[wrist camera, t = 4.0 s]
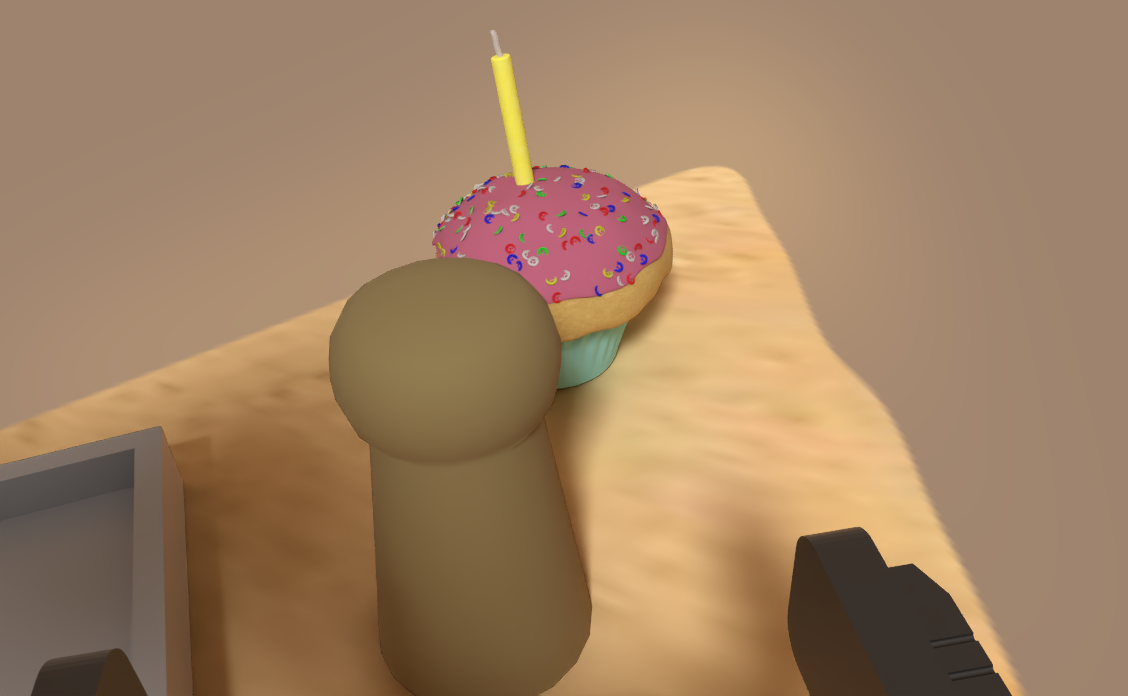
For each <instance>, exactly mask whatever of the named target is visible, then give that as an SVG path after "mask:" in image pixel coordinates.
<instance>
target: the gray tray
mask: <svg viewBox="0 0 1128 696" xmlns="http://www.w3.org/2000/svg"><path fill="white" fill-rule="evenodd" d="M114 648H119V649H121V650H122V651H123V652H124V653H125V654H126V656H127V657H128V659H129V661H130V663H131V665H132V667H133V668H134V670H135V672H136V674H137V676H138V678H139V680H140V682H141V683H142V685H143V687H144V689H145V691H146V693H147V695H148V696H193V683H192V661H191V639H190V617H189V595H188V574H187V552H186V530H185V508H184V486H183V480H182V477H181V475H180V472H179V470H178V467H177V465H176V462H175V460H174V457H173V455H172V452H171V450H170V447H169V444H168V442H167V439H166V437H165V434H164V432H163V429H162V427H161V426H158V427H154V428H150V429H146V430H141V431H137V432H133V433H129V434H125V435H121V436H117V437H113V438H109V439H105V440H100V441H96V442H92V443H88V444H84V445H80V446H76V447H72V448H68V449H64V450H60V451H55V452H51V453H47V454H43V455H39V456H35V457H31V458H27V459H23V460H19V461H14V462H10V463H6V464H2V465H0V696H31V693H32V690H33V687H34V684H35V681H36V678H37V675H38V673H39V671H40V669H41V667H42V666H43V665H44V663H45V662H47V661H48V660H50V659H54V658H60V657H66V656H72V655H78V654H84V653H90V652H96V651H102V650H108V649H114Z"/></svg>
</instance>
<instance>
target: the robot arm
mask: <svg viewBox="0 0 1128 696" xmlns="http://www.w3.org/2000/svg"><path fill="white" fill-rule="evenodd" d="M788 630H789V636H790V641H791V646H792V650H793V653H794V657H795V660H796V662H797V665H798V668H799V670H800V672H801V675H802V677H803V679H804V682H805V684H806V687H807V689H808V691H809V694H810V696H1012V695H1011V693H1010V692H1009V690H1008V688H1007V687H1006V685H1005V684H1004V682H1003V680H1002V679H1001V677H1000V675H999V674H998V673H995V672H994V670H993V664H992V662H991V661H990V659H989V658H988V656H987V654H986V653H985V651H984V649H983V648H982V646H981V645H980V643H979V641H975V639H974V636H973V631H972V630H971V628H970V627H969V625H968V623H967V622H966V620H965V618H964V617H963V615H962V614H961V612H960V610H959V609H958V607H957V605H956V604H955V602H954V601H953V599H952V597H951V596H950V594H949V593H947V592H946V591H945V590H944V589H943V588H941V587H940V586H939V585H938V584H937V583H935V582H934V581H933V580H932V579H931V578H929V577H928V576H927V575H926V574H925V573H923V572H922V571H921V570H920V569H919V568H917V567H916V566H915V565H914V564H907V565H901V566H895V567H890V568H888V567H887V565H886V563H885V561H884V560H883V558H882V556H881V554H880V553H879V551H878V549H877V547H876V545H875V544H874V542H873V540H872V539H871V537H870V535H869V534H868V533H867V532H866V531H865V530H864V529H863V528H861V527H854V528H848V529H842V530H836V531H830V532H824V533H818V534H812V535H806V536H801V537H800V538H799V539H798V542H797V545H796V552H795V560H794V568H793V576H792V584H791V591H790V599H789V607H788ZM31 696H148V695H147V693H146V691H145V689H144V687H143V685H142V683H141V682H140V680H139V678H138V676H137V674H136V672H135V670H134V668H133V667H132V665H131V663H130V661H129V659H128V657H127V656H126V654H125V653H124V652H123V651H122V650H121V649H119V648H114V649H108V650H102V651H96V652H90V653H84V654H78V655H72V656H66V657H60V658H54V659H50V660H48V661H47V662H45V663H44V665H43V666H42V667H41V669H40V671H39V673H38V675H37V678H36V681H35V684H34V687H33V690H32V693H31Z"/></svg>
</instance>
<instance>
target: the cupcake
mask: <svg viewBox="0 0 1128 696" xmlns="http://www.w3.org/2000/svg"><path fill="white" fill-rule="evenodd" d="M490 34H491V36H492V40H493V44H494V49H495V51H496V54H497V55H495V56H493V57H492V58H491V62H492V67H493V72H494V77H495V82H496V87H497V92H498V97H499V102H500V107H501V112H502V117H503V122H504V127H505V131H506V137H507V142H508V147H509V152H510V157H511V162H512V167H513V172H514V173H507V174H503V175H497V176H496V177H495V176H494V177H491V178H490V179H489V180H488V181H486V182H485V183H482V184H476V185H475V186H474V190H473V191H472V193H470V194H468V195H466V196H465V197H464V198H463V197H461V198H460V200H459V201H458V202H456V203H455V204H456V205H457V206H454V207H452V208H451V209H450V210H449V211H448V213H447V214H444V215H443V216H442V218H441V221H442V223H441V224H440V223H439V224H438V229H439V230H438V232H437V231H435V230H434V231H433V237H434V239H433V241H432V244H433V245H436V249H437V252H436V258H472V259H477V260H482V261H487V262H493V263H498V264H500V265H502V266H504V267H507V268H509V269H511V270H513V271H516V272H518V273H520V274H521V275H522V276H523V277H524V278H525V279H526V280H527V281H528V282H529V283H530V284H531V285H533V286H534V287H535V289H536V290H537V291H538V292H539V293H540V294H541V295H542V296H543V298H544V299H545V300H546V301H547V303H548V306H549V309H550V311H551V314H552V316H553V319H554V322H555V324H556V327H557V330H558V333H559V335H560V338H561V353H562V362H561V368H560V375H559V381H558V386H557V389H559V388H567V387H572V386H576V385H580V384H583V383H585V382H588V381H590V380H592V379H594V378H596V377H597V376H599V375H600V374H602V373H603V372H604V371H605V370H606V369H607V368H608V367H609V366H610V365H611V363H612V362H613V360H614V358H615V356H616V353H617V350H618V347H619V344H620V341H621V338H622V335H623V332H624V330H625V327H626V325H627V322H628V321H629V320H631V319H632V318H634V317H635V316H637V315H638V314H639V313H640V312H641V311H642V309H643V308H644V307H645V306H646V305H647V303H648V302H649V301H650V300H651V299H652V298H653V297H654V296H655V295H656V293H657V291H658V289H659V287H660V285H661V283H662V280H663V279H664V278H665V277H666V276H667V275H668V274H669V273H670V271H671V268H672V259H673V248H672V238H671V233H670V229H669V227H668V224H667V221H666V219H665V218H664V217H663V216H662V214H661V213H660V211H659V210H658V207H657V206H656V204H653V207H654V208H653V207H652V206H651V205H652V204H651V203H650V202H648V201H647V199H646V198H643V197H641V196H640V195H639V192H638V189H637V188H636V189H635V191H636V192H635V191H633V190H632V189H630V188H629V187H627V186H626V185H624V184H622V183H621V182H619V181H617V180H616V179H614V178H613V177H611V176H610V175H609V174H605V175H603V174H599V173H596V171H595V170H588V169H587V168H584V169H575V168H572V167H569V166H566V165H561V166H560V167H559V168H558V167H554V168H547V166H541V167H539V166H535V167H533V168H532V166H531V161H530V156H529V151H528V145H527V141H526V135H525V130H524V124H523V119H522V114H521V109H520V103H519V98H518V93H517V87H516V82H515V77H514V72H513V67H512V61H511V57H510V54H503V53H502V51H501V47H500V44H499V38H498V35H497V33H496V31H495V30H491V31H490ZM562 167H563V168H562ZM482 185H484V186H482ZM476 187H478V189H476ZM434 233H435V234H434Z"/></svg>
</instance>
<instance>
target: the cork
mask: <svg viewBox="0 0 1128 696" xmlns="http://www.w3.org/2000/svg"><path fill="white" fill-rule="evenodd" d="M561 362H562V353H561V338H560V335H559V333H558V330H557V327H556V324H555V322H554V319H553V316H552V314H551V311H550V309H549V306H548V303H547V301H546V300H545V299H544V298H543V296H542V295H541V294H540V293H539V292H538V291H537V290H536V289H535V287H534V286H533V285H531V284H530V283H529V282H528V281H527V280H526V279H525V278H524V277H523V276H522V275H521V274H520V273H518V272H516V271H513V270H511V269H509V268H507V267H504V266H502V265H500V264H498V263H493V262H487V261H482V260H477V259H472V258H436V259H430V260H423V261H417V262H414V263H411V264H408V265H405V266H402V267H399V268H395V269H393V270H390V271H388V272H386V273H384V274H382V275H380V276H379V277H377V278H375V279H373V280H372V281H370V282H368V283H366V284H364V285H363V286H362V287H361V288H360V289H359V290H358V291H357V292H356V293H355V294H354V295H353V296H352V297H351V298H350V299H348V300H347V302H346V304H345V306H344V309H343V311H342V313H341V315H340V317H339V319H338V321H337V323H336V325H335V327H334V330H333V332H332V334H331V336H330V346H329V370H330V381H331V385H332V388H333V392H334V396H335V400H336V401H337V403H338V404H339V406H340V408H341V409H342V411H343V412H344V414H345V416H346V417H347V419H348V420H349V422H350V423H351V425H352V427H353V428H354V430H355V431H356V433H357V434H358V436H359V437H360V438H361V439H363V440H364V441H366V442H367V443H369V444H370V462H371V481H372V501H373V520H374V540H375V559H376V579H377V598H378V618H379V632H380V644H381V653H382V655H383V657H384V659H385V661H386V663H387V664H388V666H389V668H390V670H391V672H392V674H393V676H394V678H395V679H396V680H398V681H399V682H400V683H401V684H402V685H403V686H405V687H406V688H407V689H408V690H409V691H411V692H412V693H413V694H414V695H415V696H537V695H538V694H540V693H542V692H544V691H546V690H548V689H549V688H551V687H553V686H554V685H555V684H556V683H557V682H558V681H559V680H560V679H561V678H562V677H563V676H564V675H565V674H566V673H567V672H568V671H569V670H570V669H571V668H572V667H573V666H574V665H575V663H576V662H577V660H578V658H579V656H580V654H581V652H582V650H583V648H584V646H585V644H586V642H587V639H588V637H589V635H590V624H591V612H592V606H591V602H590V598H589V594H588V590H587V586H586V582H585V578H584V574H583V570H582V566H581V562H580V558H579V554H578V550H577V546H576V542H575V538H574V534H573V530H572V526H571V522H570V518H569V514H568V510H567V506H566V502H565V498H564V494H563V490H562V486H561V482H560V478H559V475H558V471H557V467H556V463H555V459H554V455H553V451H552V447H551V443H550V439H549V435H548V431H547V427H546V423H545V419H544V415H545V414H546V412H547V411H548V409H549V408H550V406H551V405H552V403H553V401H554V397H555V393H556V390H557V386H558V381H559V375H560V368H561Z"/></svg>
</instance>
